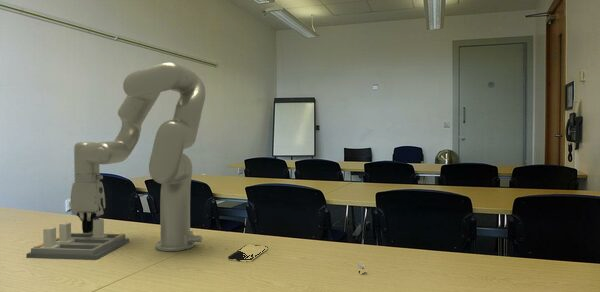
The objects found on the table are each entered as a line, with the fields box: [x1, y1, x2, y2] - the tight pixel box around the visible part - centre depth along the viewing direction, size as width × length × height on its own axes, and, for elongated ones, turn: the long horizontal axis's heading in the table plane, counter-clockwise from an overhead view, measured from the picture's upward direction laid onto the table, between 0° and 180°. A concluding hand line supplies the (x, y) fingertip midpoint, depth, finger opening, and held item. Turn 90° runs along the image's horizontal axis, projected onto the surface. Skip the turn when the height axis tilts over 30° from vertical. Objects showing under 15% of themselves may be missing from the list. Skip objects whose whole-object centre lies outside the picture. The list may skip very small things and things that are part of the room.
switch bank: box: [25, 232, 130, 261], centre depth 131 cm, size 22×20×3 cm
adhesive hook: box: [357, 262, 366, 269], centre depth 111 cm, size 3×3×3 cm
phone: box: [227, 244, 269, 261], centre depth 128 cm, size 8×1×15 cm
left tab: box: [39, 226, 60, 248], centre depth 125 cm, size 4×3×7 cm
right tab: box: [91, 218, 108, 238], centre depth 137 cm, size 4×3×7 cm
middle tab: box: [56, 222, 75, 243], centre depth 131 cm, size 4×3×7 cm
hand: (87, 231), depth 138 cm, fingers closed
